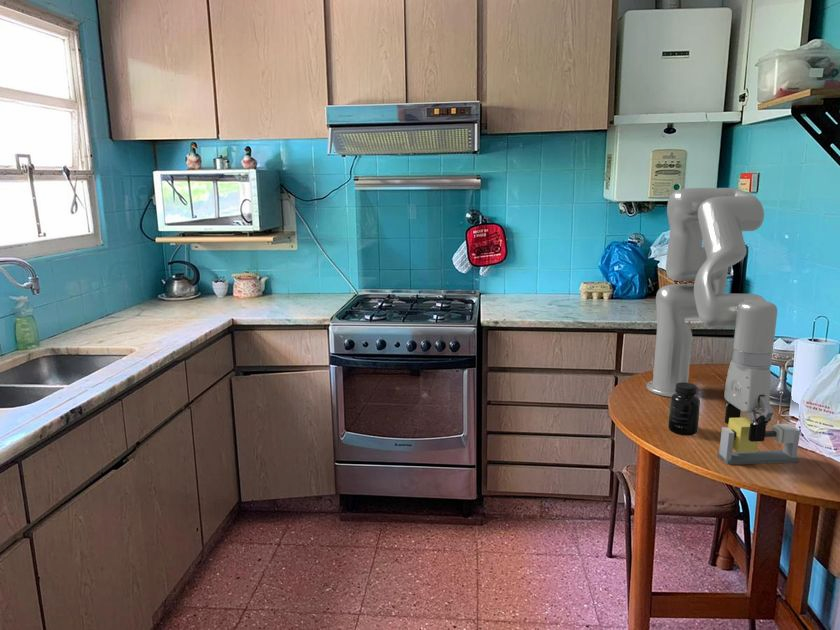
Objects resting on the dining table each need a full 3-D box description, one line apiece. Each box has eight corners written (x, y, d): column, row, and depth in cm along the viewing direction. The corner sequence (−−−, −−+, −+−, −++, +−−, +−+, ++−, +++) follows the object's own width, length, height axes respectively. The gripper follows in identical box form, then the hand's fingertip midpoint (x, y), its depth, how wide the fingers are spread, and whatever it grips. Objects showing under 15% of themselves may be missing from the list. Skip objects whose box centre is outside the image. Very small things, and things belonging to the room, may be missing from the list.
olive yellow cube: (726, 442, 140) (729, 417, 139) (743, 441, 140) (746, 417, 139) (738, 452, 135) (741, 426, 134) (756, 451, 135) (759, 426, 134)
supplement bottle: (672, 422, 158) (676, 378, 156) (700, 429, 154) (705, 384, 151) (663, 431, 153) (667, 386, 150) (692, 438, 149) (697, 392, 146)
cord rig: (717, 455, 140) (720, 424, 138) (785, 453, 141) (790, 422, 139) (727, 464, 136) (730, 432, 134) (798, 462, 137) (802, 430, 135)
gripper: (714, 347, 141) (707, 417, 145) (757, 370, 124) (748, 449, 128) (746, 346, 141) (739, 416, 145) (794, 369, 124) (784, 448, 128)
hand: (743, 431), depth 136 cm, fingers open, 9 cm apart
